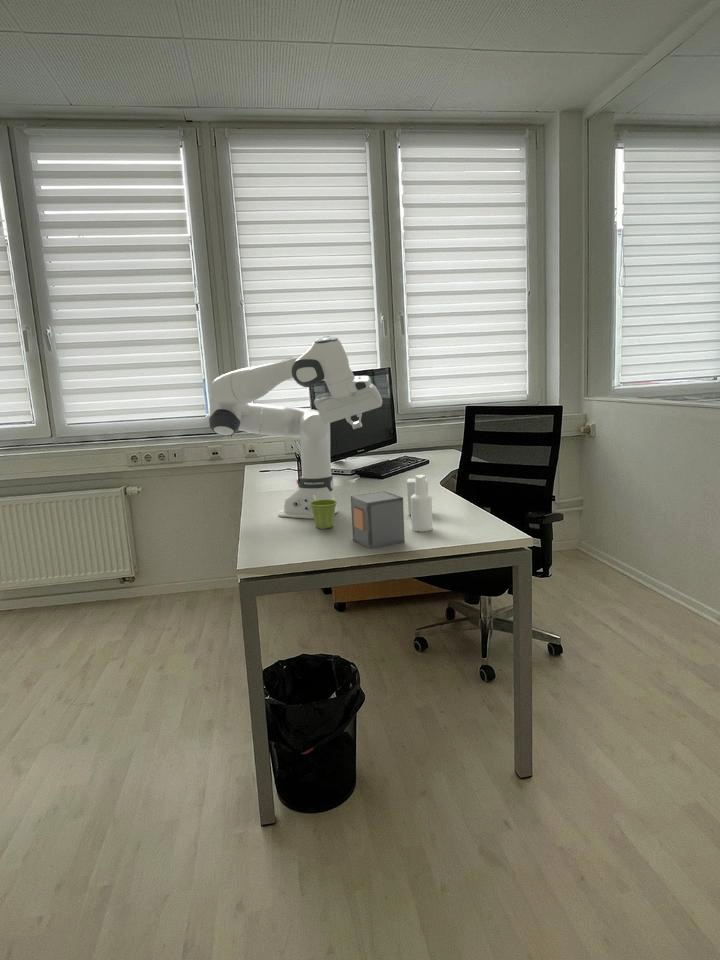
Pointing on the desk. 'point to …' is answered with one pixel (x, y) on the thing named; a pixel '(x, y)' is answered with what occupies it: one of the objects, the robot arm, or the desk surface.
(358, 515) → the button
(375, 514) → the button box
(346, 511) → the desk surface
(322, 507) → the plant pot
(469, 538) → the desk surface
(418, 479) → the spray bottle
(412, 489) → the supplement box
